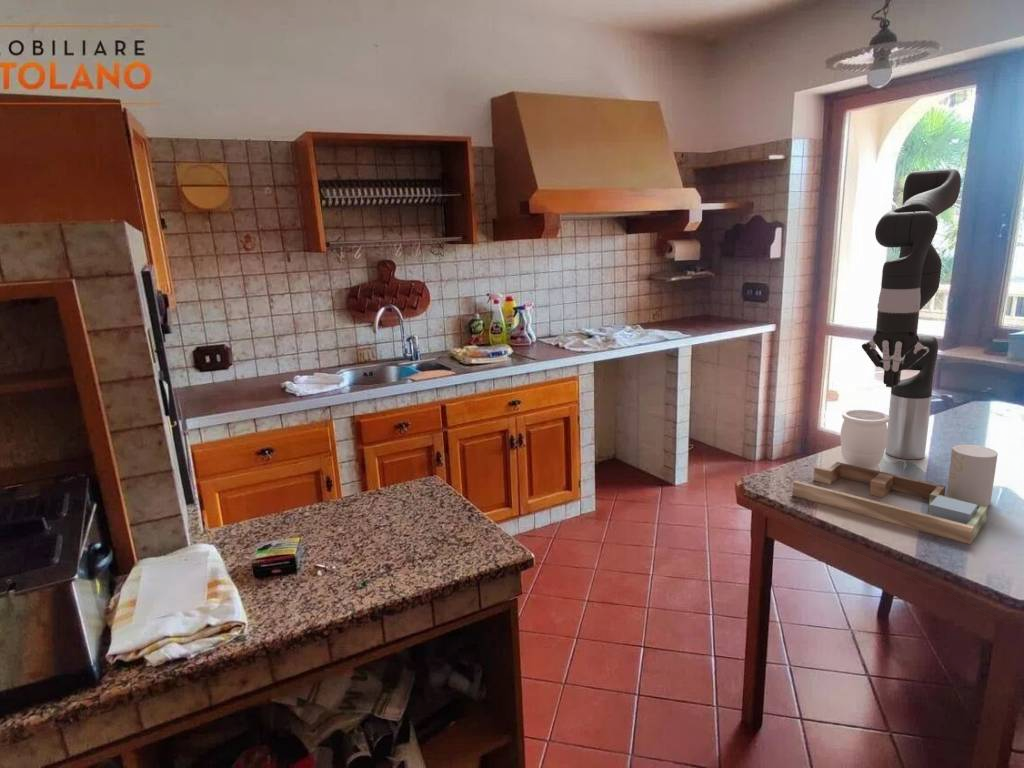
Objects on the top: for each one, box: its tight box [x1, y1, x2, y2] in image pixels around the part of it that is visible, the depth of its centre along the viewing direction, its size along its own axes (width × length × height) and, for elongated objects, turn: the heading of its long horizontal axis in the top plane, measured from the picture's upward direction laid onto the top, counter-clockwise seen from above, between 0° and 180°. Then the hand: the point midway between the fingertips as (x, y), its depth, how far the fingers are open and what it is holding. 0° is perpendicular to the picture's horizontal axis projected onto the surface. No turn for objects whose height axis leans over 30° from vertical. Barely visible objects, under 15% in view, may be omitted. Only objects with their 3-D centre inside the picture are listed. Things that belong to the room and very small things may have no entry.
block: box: [928, 496, 978, 524], centre depth 125 cm, size 6×7×5 cm
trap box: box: [792, 461, 989, 545], centre depth 137 cm, size 19×35×4 cm, turn 41°
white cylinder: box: [945, 443, 998, 507], centre depth 135 cm, size 8×8×12 cm
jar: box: [839, 409, 889, 472], centre depth 155 cm, size 11×10×15 cm
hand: (890, 386), depth 131 cm, fingers closed
